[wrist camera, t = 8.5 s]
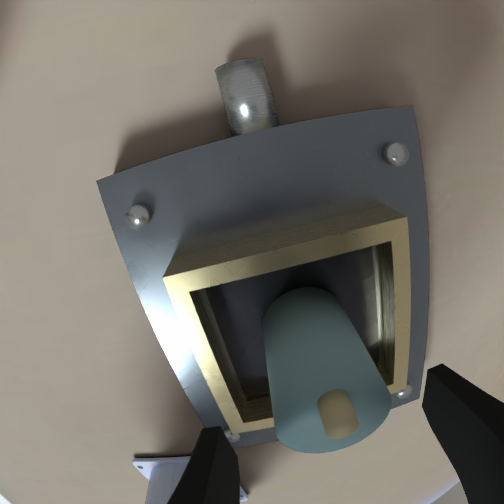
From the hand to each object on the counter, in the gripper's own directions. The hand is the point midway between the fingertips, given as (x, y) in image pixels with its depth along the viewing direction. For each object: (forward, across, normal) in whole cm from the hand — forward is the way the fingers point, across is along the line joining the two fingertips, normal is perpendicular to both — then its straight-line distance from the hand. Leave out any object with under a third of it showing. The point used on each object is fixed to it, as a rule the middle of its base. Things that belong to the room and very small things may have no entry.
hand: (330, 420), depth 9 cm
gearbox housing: (+8, 0, -2) cm, 8 cm away
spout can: (+6, 0, 0) cm, 6 cm away
